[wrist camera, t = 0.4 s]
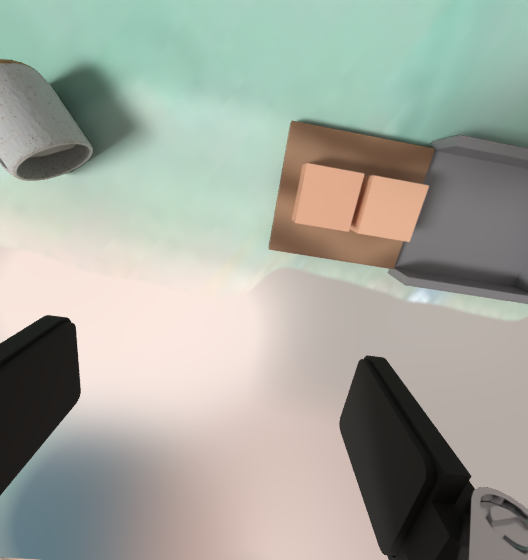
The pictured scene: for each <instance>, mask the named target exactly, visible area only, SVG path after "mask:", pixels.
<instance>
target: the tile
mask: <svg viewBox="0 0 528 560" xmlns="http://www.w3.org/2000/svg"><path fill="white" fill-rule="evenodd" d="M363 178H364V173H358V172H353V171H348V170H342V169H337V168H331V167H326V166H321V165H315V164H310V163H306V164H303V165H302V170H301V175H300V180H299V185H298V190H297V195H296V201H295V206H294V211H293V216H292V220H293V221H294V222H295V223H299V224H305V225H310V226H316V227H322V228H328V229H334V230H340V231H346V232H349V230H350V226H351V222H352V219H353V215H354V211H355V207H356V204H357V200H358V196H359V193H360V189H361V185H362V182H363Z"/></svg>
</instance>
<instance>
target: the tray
mask: <svg viewBox="0 0 528 560" xmlns="http://www.w3.org/2000/svg"><path fill="white" fill-rule="evenodd" d="M430 148H434V149H435V150H434V153H433V156H432V159H431V162H430V165H429V168H428V171H427V174H426V176H425V179H424V182H423V185H429V188H428V191H427V194H426V197H425V199H424V202H423V205H422V208H421V211H420V214H419V217H418V219H417V222H416V225H415V228H414V231H413V234H412V236H411V239H410V242H406V241H403V244H402V247H401V249H400V252H399V255H398V258H397V261H396V264H395V267H394V269H389V271H388V273H389V274H390V275H391V276H393V277H394V278H396V279H397V280H399V281H400V282H401V283H403V284H404V285H408V286H415V287H421V288H427V289H434V290H440V291H447V292H453V293H460V294H466V295H473V296H479V297H486V298H492V299H499V300H505V301H512V302H518V303H525V304H528V148H523V147H518V146H513V145H508V144H503V143H498V142H493V141H488V140H483V139H478V138H473V137H468V136H463V135H457V136H453V137H448V138H444V139H440V140H435V141H432V143H431V146H430Z"/></svg>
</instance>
